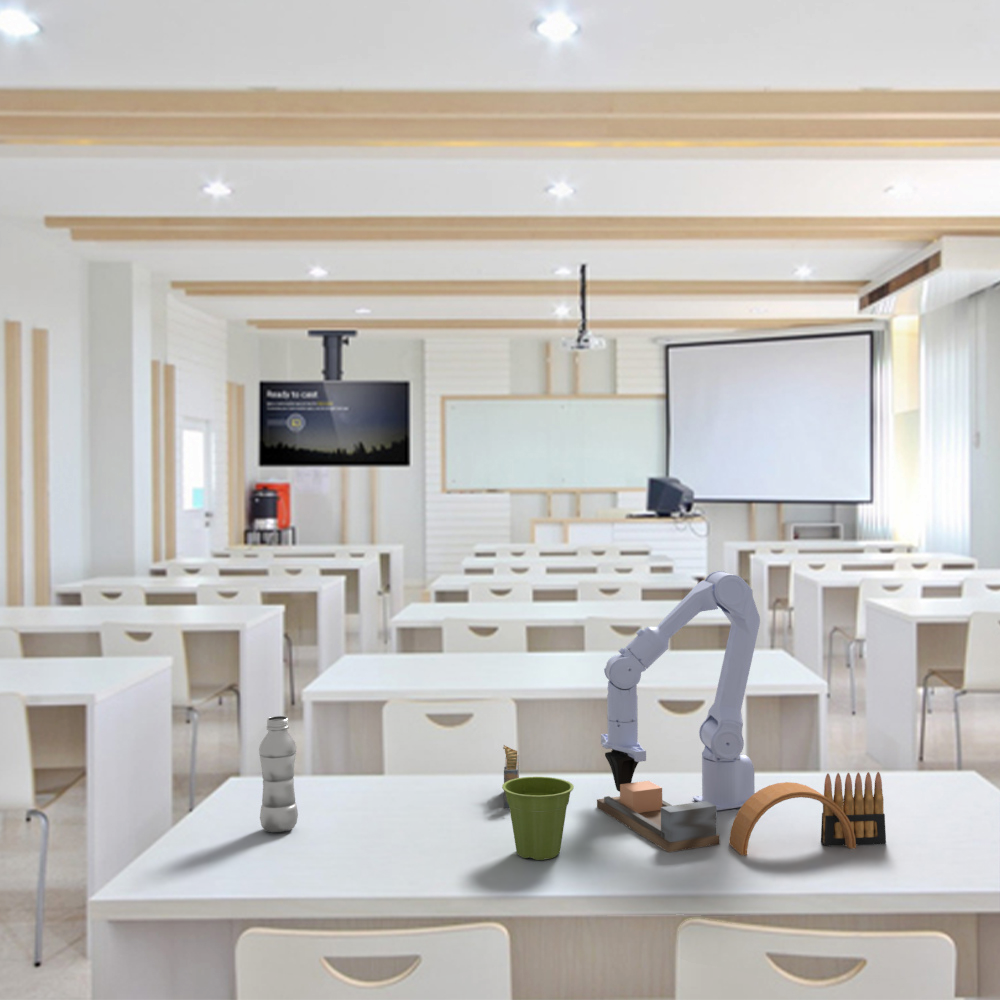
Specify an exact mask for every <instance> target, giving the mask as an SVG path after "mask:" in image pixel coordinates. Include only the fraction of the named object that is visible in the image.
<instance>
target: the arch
mask: <svg viewBox="0 0 1000 1000" xmlns="http://www.w3.org/2000/svg"><path fill="white" fill-rule="evenodd" d="M795 798H797V799H798V798H804V799H807V798H808V799H812V800H814V801H818V802H819V803H821V804H822V805H823V803H824V804H825V805H827V806H828V807H829V808H830V809H831V810H832V811H833V814H834V815H836V816H837V818H838V819H839V821H840V824H841V826H842V829H843V835H844V838H845V847H847V848H848V849H852V850H853V849H854V850H855V849H857V845H856V840H855V835H854V831H853V828H852V825H851V823H850V821H849V819H848V818H847V816H846V815H845V813H844V812H843V811H842V810H841V808H840V807H839V806H838V805H837V804H835V803H834V802H832V801H831V800H830V799H828V798H827V797H825V796H824V794H822V793H820V792H819V791H818V790H816V789H814V788H811V787H810V786H808V785H806V784H802V783H797V782H790V781H789V782H788V781H787V782H786V781H785V782H777V783H774V784H769V785H768V786H766V787H763V788H761V789H759V790H758V791H756V792H755V794H753V795H752V796H751V797H750V798H749V799H748V800H747V801H746V802H745V803H744V804H743V806H742V807H739V810H737V813H736V816H735V817H734V818H733V819H734V820H733V822H732V826H731V827H730V834H729V839H728V840H729V845H730V846H731V847H732V848H733V849H734V850H735V851H737V853H738V854H740V856H748V847H749V842H750V838H751V834H752V833H753V830H754V829H755V826H756V825H757V824H758V821H759V820H760V819H761V818H762V816H763V815H764V814H765V813H766V812H767V811H769V810H770V809H771V808H772V807H774V806H775V805H777V804H779V803H782V802H784V801H787V800H792V799H795Z"/></svg>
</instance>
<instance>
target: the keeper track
mask: <svg viewBox="0 0 1000 1000" xmlns="http://www.w3.org/2000/svg"><path fill="white" fill-rule="evenodd" d="M596 807H597V809H599V810H600V809H601V811H602V812H603V813H605V814H607V815H608V816H610V817H612V818H613V819H615V820H616V821H618V822H620V823H621V824H623V825H624V826H626V827H628V828H629V829H631V830H632V831H634V832H635V833H637V834H639V835H640V836H642V837H643V838H645V839H647V840H649V841H650V842H651V843H654V844H655V845H656V846H658V847H659V848H661V849H662V850H664V851H665V852H667V853H672V852H673V853H674V852H678V851H684V850H692V849H697V848H703V847H709V846H716V845H721V844H720V842H721V838H720V834H718V833H717V811H716V805H714V804H712V803H710V802H708V801H702V802H697V801H695V802H690V803H689V802H687V803H682V804H675V805H673V804H670V803H669V802H666V801H665V800H663V799H662V807H661V810H657V811H650V812H643V813H636V812H635V811H633V810H631V809H630V808H628V807H626V806H625V805H623V804H621V803H620V795H619V796H614V797H613V796H610V795H608V796H604V797H603V798H598V799H596Z"/></svg>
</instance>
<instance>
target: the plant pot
mask: <svg viewBox="0 0 1000 1000" xmlns="http://www.w3.org/2000/svg"><path fill="white" fill-rule="evenodd" d="M574 786H575V785H574V784H573V783H572V782H570V781H569V780H565V779H562V778H558V777H557V778H556V777H550V776H522V777H519V778H516V779H512V780H509V781H507V782H505V783H504V782H503V783H502V786H501V788H502V790H503V792H504V791H505V792H506V797H507V802H508V804H509V808H508V809H509V813H510V814H509V815H510V818H511V824H512V825H511V826H512V831H513V839H514V844H515V850H516V853H517V855H518V856H520V857H521V858H524V859H528V858H532V859H534V860H535V861H536V860H538V861H544V860H547V859H548V860H550V859H554V858H555V857H557V856H558V854H560V853H561V847H562V841H563V834H564V828H565V827H564V826H565V821H566V814H567V807H568V805H569V802H570V796H571V792H572V791H573V790H574Z"/></svg>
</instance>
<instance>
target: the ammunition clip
mask: <svg viewBox="0 0 1000 1000" xmlns="http://www.w3.org/2000/svg"><path fill="white" fill-rule="evenodd" d="M864 779H865V780H864V788H863V782H862V776H861V774H860V772H859V771H858V772H857V774H856V776H855V780H854V792H853V781H852V777H851V775H850V772H847V774H846V776H845V781H844V790H843V783H842V779H841V775H840V773H839V772H837V773H836V776H835V781H834V790H832V789H833V787H832V786H833V785H832V779H831V775H830V773H828V772H827V773H826V775H825V778H824V784H823V785H824V789H823V796H825V797H827V798H828V799H830V800H831V801H832V802H834V803H835V804H837V805H838V806H839V807H840V808H841V810H842V811H843V812H844V813H845V815H846V816H847V818H848V819H849V821H850V823H851V825H852V828H853V831H854V835H855V840H856V846H865V845H866V846H869V845H870V846H871V845H886V843H887V834H886V833H887V832H886V815H885V813H884V810H885V808H884V794H883V782H882V777H881V773H880V772H879V771H877V772H876V775H875V778H874V788H873V782H872V781H873V780H872V777H871V773H870V772H868V771H867V773H866V775H865V778H864ZM863 789H864V790H863ZM873 790H874V792H873ZM833 791H834V792H833ZM843 791H844V793H843ZM863 791H864V792H863ZM853 793H854V794H853ZM863 793H864V794H863ZM843 794H844V795H843ZM820 829H821V830H820V843H821V844H822V845H824V847H838V846H839V847H840V846H845V838H844V835H843V829H842V826H841V824H840V821H839V819H838V818H837V816H836V815H834V814H833V811H832V810H831V809H830V808H829V807H828V806H827V805H825V804H824V803H823V804H822V813H821V828H820ZM845 847H846V846H845Z"/></svg>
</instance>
